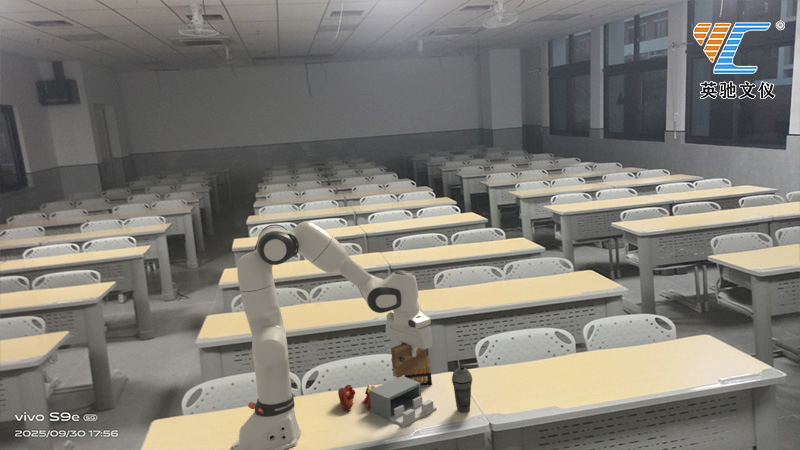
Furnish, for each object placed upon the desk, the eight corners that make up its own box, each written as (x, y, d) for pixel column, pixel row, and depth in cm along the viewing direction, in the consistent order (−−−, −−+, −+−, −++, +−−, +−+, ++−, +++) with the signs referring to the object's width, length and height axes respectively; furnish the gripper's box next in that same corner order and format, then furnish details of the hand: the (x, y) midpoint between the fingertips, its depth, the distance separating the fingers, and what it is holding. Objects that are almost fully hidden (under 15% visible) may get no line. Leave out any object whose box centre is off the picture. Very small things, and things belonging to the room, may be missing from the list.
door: (429, 365, 209) (427, 338, 208) (400, 378, 200) (398, 350, 198) (422, 363, 212) (420, 336, 210) (393, 375, 203) (391, 348, 201)
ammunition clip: (405, 387, 231) (403, 358, 229) (404, 385, 233) (402, 357, 231) (432, 385, 232) (430, 356, 230) (431, 383, 234) (429, 354, 232)
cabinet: (404, 426, 201) (402, 404, 200) (370, 411, 214) (369, 390, 213) (436, 409, 212) (435, 388, 210) (403, 395, 224) (401, 375, 223)
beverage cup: (471, 415, 205) (468, 361, 202) (451, 413, 208) (448, 359, 205) (475, 406, 212) (473, 353, 209) (455, 404, 215) (453, 351, 211)
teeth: (377, 389, 213) (336, 392, 214) (379, 410, 214) (338, 412, 215) (379, 378, 224) (339, 380, 224) (380, 398, 225) (341, 400, 225)
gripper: (380, 313, 209) (382, 350, 211) (420, 325, 194) (423, 365, 196) (393, 309, 213) (396, 345, 215) (434, 320, 198) (436, 359, 200)
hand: (409, 355), depth 205 cm, fingers closed on door, 2 cm apart
